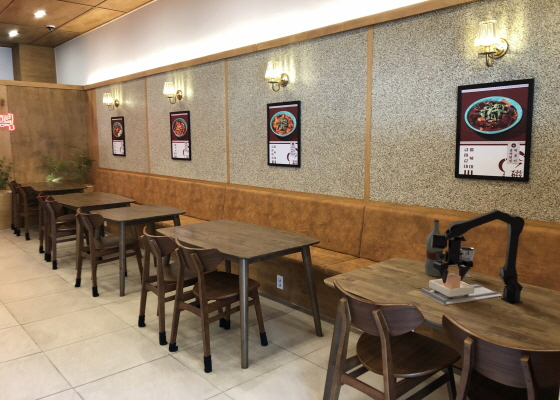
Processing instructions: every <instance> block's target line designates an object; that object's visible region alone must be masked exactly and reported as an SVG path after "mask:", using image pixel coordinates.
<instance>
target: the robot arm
mask: <svg viewBox="0 0 560 400" xmlns="http://www.w3.org/2000/svg"><path fill="white" fill-rule="evenodd" d="M496 220H499V221H501V222H504V223H506V229H507V233H508V234H507V235H508V236H507V243H506V252H505V259H504V265H503V266H499V273H498V276H499V278H500V280H501V281H502V283H504V285H503V286H504V287H503V294H502V295H503V296H502V297H500V300H502V301H505V302H507V303H510V304H511V305H514V304H519V303H523V300H521V294H522V290H523V288H524V287H523V285H522V284H520V282H519V281H518V279H519V278H518V272H517V257H518V250H519V242H520V236H521V234H522V232H523V230H524V227H525V225H526V223H525V222H526V221H525V219H524V218H523V217H521V216H520V215H518V214H515V213H512V214H509V213H508V212H505V211H502V210H500V209H497V208H494V209H492V210H490V211H488V212H484V213H483V214H480V215H477V216H474V217H471V218H470V219H465V220H463V219H462V220H456V221H453V222H450V223H449V224H448V228H447V229H446V230H445V231H444V233H443V234H441V235H440V234H432V240H431V248H434V249H443V250H444V249H446V248H447V250H445V252H444V253H443V254H442V253H441V252H437V253H436V259H439V261H436V262H434V263H433V267H434V268H436V269H437V270H438V271H439V272H440V274H441V275H440V277H441V279H442V281H443V283H446V280H447V276H448V274H449V267H458V274H459V276H461V281H462V280H463V279H465V278H464V276H465V275H466V274H468V272H469V271H470V270H471V269H472V268H473V267H474V261H473V260H472V261H471V260H469V259H466V258H463V259H460V258H461V255H463V253H462V252H461V247H462V242H467V239H466V238H465V237H464V234H466V233H468V232H469V231H470V230H472V229H474V228H477V227H479V226H483V225H485V224H487V223H488V224H489V223H491V222H494V221H496ZM441 260H442V261H441ZM462 282H463V281H462Z"/></svg>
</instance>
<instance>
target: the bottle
mask: <svg viewBox="0 0 560 400" xmlns="http://www.w3.org/2000/svg"><path fill="white" fill-rule="evenodd" d="M439 224H440V219H436V218H435V219H434V220H433V228H432V230H431V231H430V233H429V234H428V236H427V237H426V242H425V248H426V250H425V251H426V252H425V253H426V257H425V263H424V272H425V275H428V276H431V277H441V274H440V272H439V271H438V270H437V269H436V268H434V267H433V263H434V262H436V261H439V259H436V253H437V252H441V253H442V254H444V249H434V248H431V240H432V234H440V235H442V233H441V232H440V229H439V226H440V225H439ZM441 261H442V262H443V260H441Z"/></svg>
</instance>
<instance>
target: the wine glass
mask: <svg viewBox="0 0 560 400" xmlns="http://www.w3.org/2000/svg"><path fill="white" fill-rule="evenodd" d="M461 252H462V253H463V255H461V258H460V259H463V258H466V259H469V260H471V261H472V262H473V259H474V255H475V248H473V247H469V246H461ZM457 275H459V273H458V274H457ZM470 275H471V274H469V273H466V275H465V276H464V277H471V276H472V275H471V276H470ZM471 278H472V277H471Z"/></svg>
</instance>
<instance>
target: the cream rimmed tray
mask: <svg viewBox="0 0 560 400" xmlns="http://www.w3.org/2000/svg"><path fill="white" fill-rule="evenodd" d="M472 285H473V284H469V283H467V282H464V281H460V288H455V289H449V288H446V287H444V283H443V281H442V278H439V279H431V280H429V281H428V287H429V288H431V290H434V291H436V292H437V291H438V292H440V293H442V294H444V295H446V296H448V298H450V299H452V298H453V296H460V295H464V296H466V297H467V296H468V295H469V294H473V293H474V286H472Z"/></svg>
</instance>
